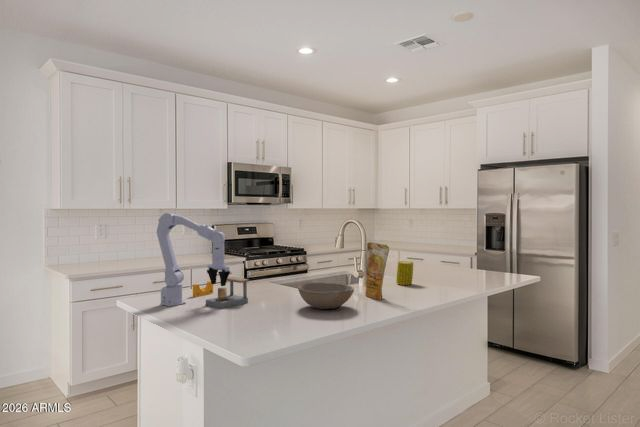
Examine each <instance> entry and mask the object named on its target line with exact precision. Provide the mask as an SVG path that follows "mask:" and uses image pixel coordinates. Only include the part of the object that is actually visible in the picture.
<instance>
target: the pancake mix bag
mask: <svg viewBox="0 0 640 427" xmlns="http://www.w3.org/2000/svg"><path fill="white" fill-rule="evenodd" d="M389 253H390V247H389V246H388V245H387V244H381V243H377V242H370V241H369V242H367V243H366V268H365V269H366V277H365V281H366V282H365V296H366V297H368V298H370V297H371V298H370V299H373V300H375V299H376V301H383V293H382V292H383V284H384V277H385V270H386V266H387V260H388V255H389Z"/></svg>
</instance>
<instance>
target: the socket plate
mask: <svg viewBox="0 0 640 427" xmlns="http://www.w3.org/2000/svg"><path fill="white" fill-rule="evenodd" d="M226 282H229V285H230V286H229V288H230V289H229V291H230V293H229V295H228V294H227V295H226V301H218V296H217V297H214V298H208V299H205V305H206V306H209V307H212V308H216V307H217V309H226V308H231V307H235V306H240V305H244V304H249V297H248V296H247V295H248V294H247V293H248V291H247V289H248V286H247V284H248V283H249V282H250V279H247V278H242V277H235V276H228V278H227V281H226ZM234 283H238V284H243V285H242V287H243V289H242V291H243V293H242V294H243V296H241V295H236V294H234Z"/></svg>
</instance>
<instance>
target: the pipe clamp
mask: <svg viewBox="0 0 640 427" xmlns="http://www.w3.org/2000/svg"><path fill="white" fill-rule="evenodd" d="M211 294H214V284H211V280H208V281H206V285H205V286H204V287H200V284H199V283H193V284H192V297H193V296H195V297H194V298H197V297H202V296H206V295H211Z"/></svg>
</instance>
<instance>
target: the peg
mask: <svg viewBox="0 0 640 427" xmlns="http://www.w3.org/2000/svg"><path fill="white" fill-rule="evenodd" d="M226 296H227V287H218V288H217V297H218V301H226Z"/></svg>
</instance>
